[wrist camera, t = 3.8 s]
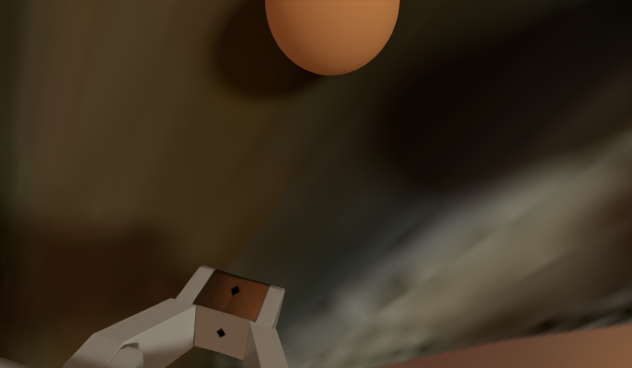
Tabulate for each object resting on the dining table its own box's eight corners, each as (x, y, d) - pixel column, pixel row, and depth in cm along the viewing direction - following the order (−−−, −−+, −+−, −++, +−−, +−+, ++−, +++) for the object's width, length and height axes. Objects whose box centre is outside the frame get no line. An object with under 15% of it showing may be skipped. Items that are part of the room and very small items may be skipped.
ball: (294, -71, 15) (255, -124, 10) (411, -44, 14) (432, -84, 9) (276, 55, 17) (237, 63, 12) (375, 80, 17) (376, 99, 12)
